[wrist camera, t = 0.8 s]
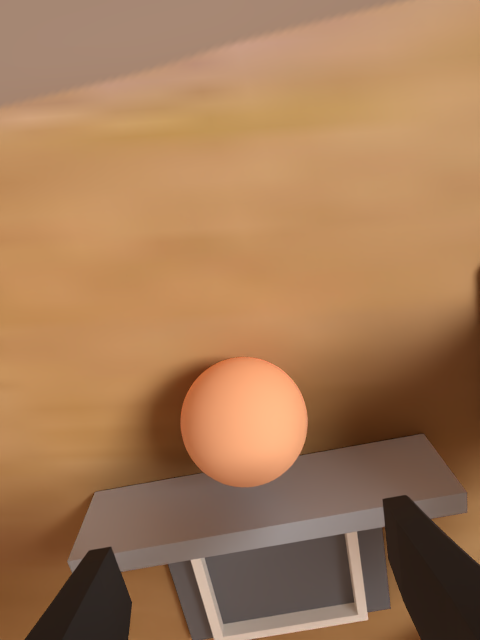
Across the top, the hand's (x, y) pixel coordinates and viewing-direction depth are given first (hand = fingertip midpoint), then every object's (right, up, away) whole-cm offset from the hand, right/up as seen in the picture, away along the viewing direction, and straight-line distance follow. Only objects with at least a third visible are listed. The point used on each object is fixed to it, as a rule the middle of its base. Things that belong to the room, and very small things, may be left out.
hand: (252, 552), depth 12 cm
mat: (+2, -6, +12) cm, 13 cm away
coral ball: (0, +2, +6) cm, 6 cm away
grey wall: (+1, -1, +10) cm, 10 cm away
